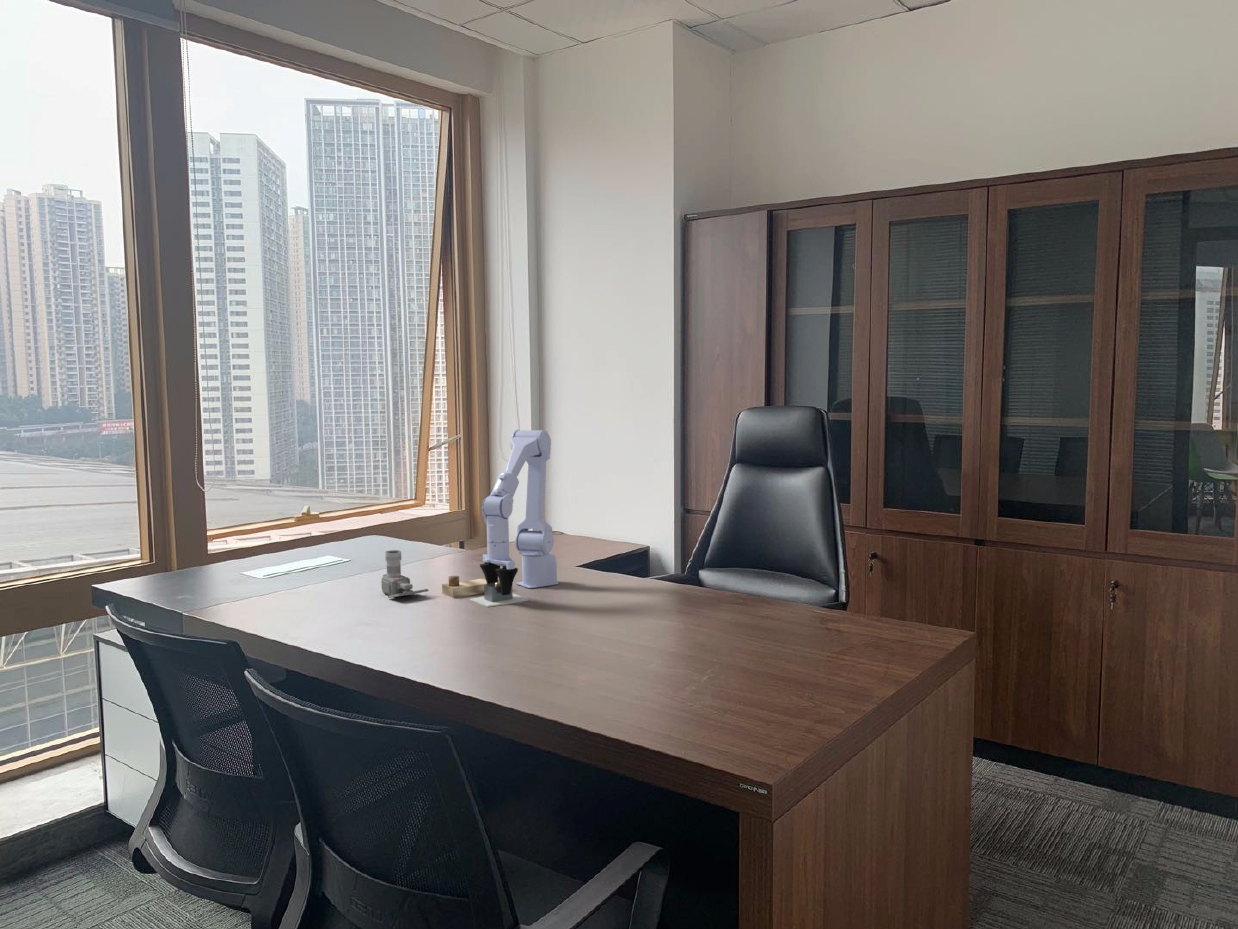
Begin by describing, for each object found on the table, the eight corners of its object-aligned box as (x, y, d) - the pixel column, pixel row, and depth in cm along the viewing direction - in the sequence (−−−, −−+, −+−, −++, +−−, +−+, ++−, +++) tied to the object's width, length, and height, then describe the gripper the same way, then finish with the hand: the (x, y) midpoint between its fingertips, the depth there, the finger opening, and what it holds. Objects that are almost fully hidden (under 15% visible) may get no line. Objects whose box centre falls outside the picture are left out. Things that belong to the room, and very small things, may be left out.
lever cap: (504, 596, 250) (504, 579, 249) (512, 599, 246) (512, 582, 246) (484, 599, 246) (483, 582, 246) (492, 602, 243) (491, 585, 242)
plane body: (491, 586, 264) (490, 566, 264) (502, 590, 259) (502, 570, 258) (442, 593, 256) (441, 572, 255) (453, 597, 250) (452, 576, 250)
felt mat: (510, 594, 254) (510, 592, 254) (528, 600, 246) (528, 599, 246) (470, 600, 247) (470, 598, 247) (487, 607, 239) (487, 605, 239)
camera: (402, 548, 261) (427, 556, 249) (403, 589, 262) (428, 599, 250) (373, 551, 255) (397, 560, 244) (374, 594, 256) (399, 604, 245)
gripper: (472, 539, 249) (473, 589, 250) (497, 546, 237) (498, 599, 238) (495, 536, 253) (497, 586, 254) (521, 543, 241) (522, 595, 242)
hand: (499, 592), depth 246 cm, fingers open, 7 cm apart
